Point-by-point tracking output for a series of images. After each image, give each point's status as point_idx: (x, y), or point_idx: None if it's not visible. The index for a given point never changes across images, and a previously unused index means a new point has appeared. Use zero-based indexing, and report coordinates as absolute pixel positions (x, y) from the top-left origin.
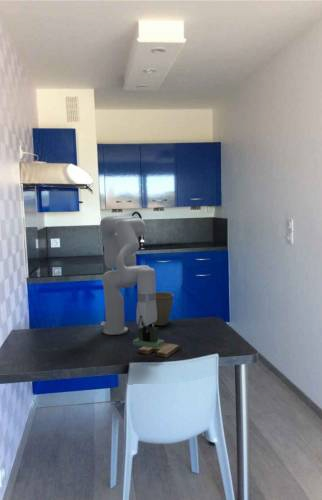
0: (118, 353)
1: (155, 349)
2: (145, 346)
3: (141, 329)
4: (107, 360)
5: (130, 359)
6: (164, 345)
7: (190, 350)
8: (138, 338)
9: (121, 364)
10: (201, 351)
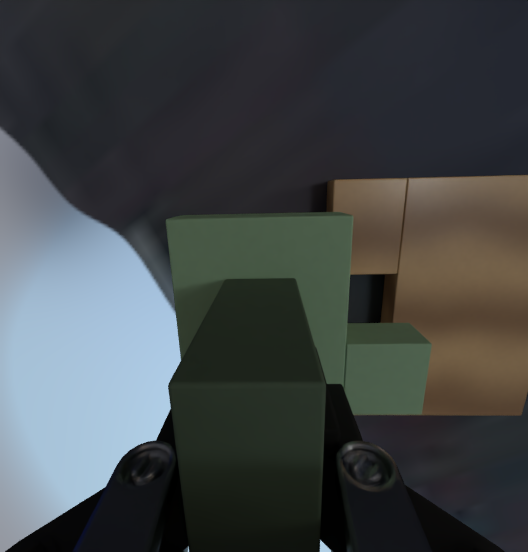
0: (241, 12)
1: (391, 297)
2: (413, 199)
3: (29, 543)
4: (60, 37)
5: (179, 204)
6: (486, 328)
7: (491, 456)
8: (273, 240)
9: (69, 202)
10: (490, 508)
